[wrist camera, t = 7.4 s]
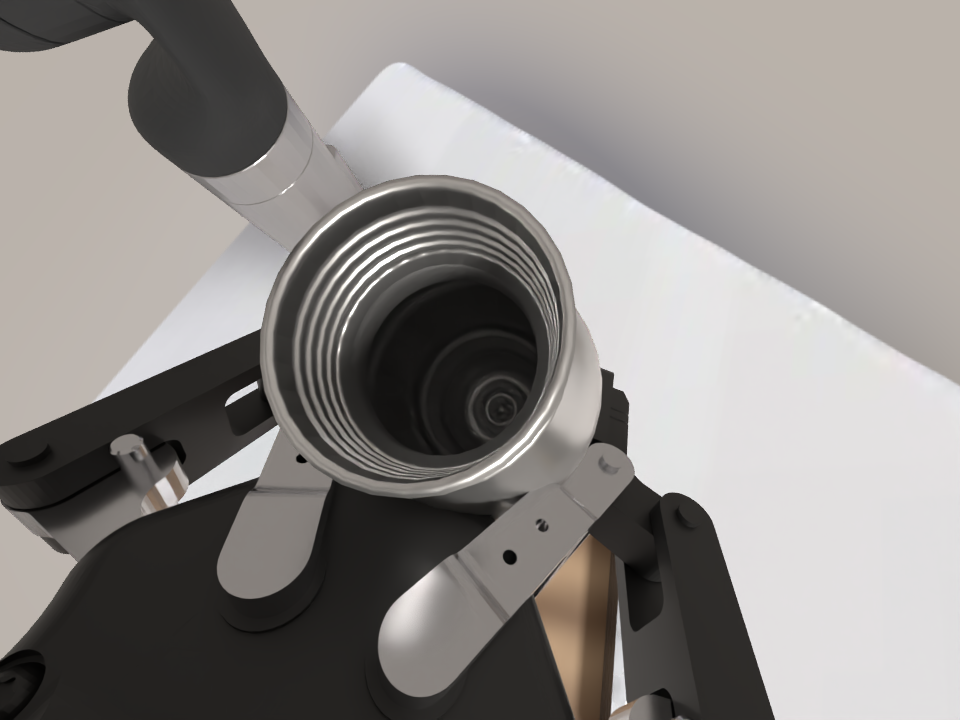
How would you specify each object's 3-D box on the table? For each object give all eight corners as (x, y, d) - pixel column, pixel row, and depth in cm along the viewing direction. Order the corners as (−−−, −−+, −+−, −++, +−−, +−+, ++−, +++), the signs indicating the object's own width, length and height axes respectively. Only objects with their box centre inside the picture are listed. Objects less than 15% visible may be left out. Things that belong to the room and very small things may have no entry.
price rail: (615, 487, 32) (624, 493, 29) (634, 489, 32) (646, 496, 29) (597, 752, 29) (606, 788, 26) (618, 757, 29) (629, 794, 26)
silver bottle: (567, 379, 24) (806, 133, 4) (530, 481, 23) (599, 819, 3) (474, 344, 25) (298, 16, 5) (435, 441, 24) (33, 500, 4)
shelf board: (492, 465, 36) (490, 468, 34) (619, 484, 34) (627, 488, 32) (463, 697, 33) (459, 718, 30) (603, 729, 31) (610, 755, 29)
